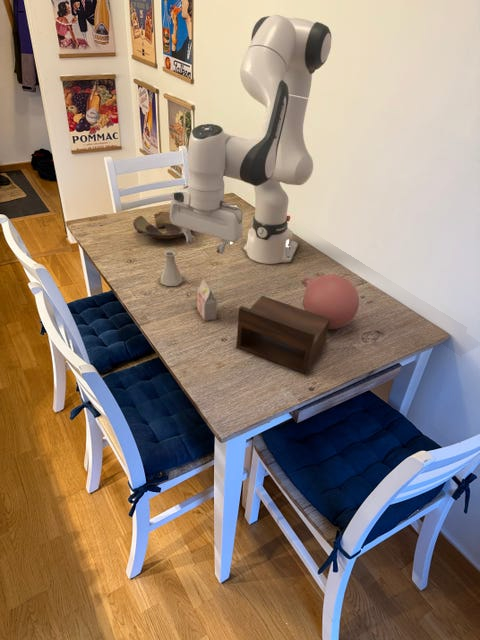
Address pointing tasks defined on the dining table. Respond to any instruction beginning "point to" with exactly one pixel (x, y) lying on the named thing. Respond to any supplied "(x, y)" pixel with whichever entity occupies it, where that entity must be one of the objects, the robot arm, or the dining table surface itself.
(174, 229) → the broken brown bowl
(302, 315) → the rack
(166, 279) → the flask
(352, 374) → the dining table surface
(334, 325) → the balloon
